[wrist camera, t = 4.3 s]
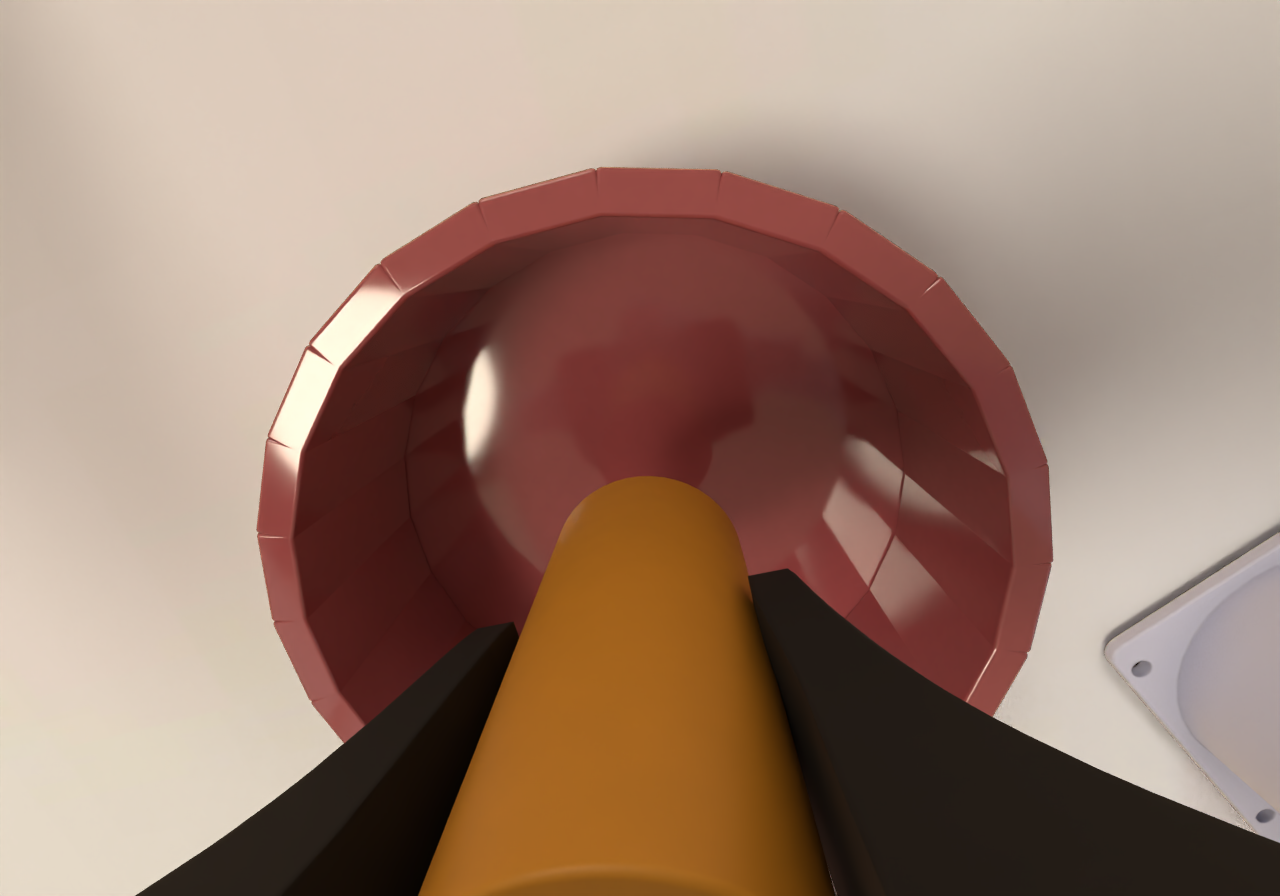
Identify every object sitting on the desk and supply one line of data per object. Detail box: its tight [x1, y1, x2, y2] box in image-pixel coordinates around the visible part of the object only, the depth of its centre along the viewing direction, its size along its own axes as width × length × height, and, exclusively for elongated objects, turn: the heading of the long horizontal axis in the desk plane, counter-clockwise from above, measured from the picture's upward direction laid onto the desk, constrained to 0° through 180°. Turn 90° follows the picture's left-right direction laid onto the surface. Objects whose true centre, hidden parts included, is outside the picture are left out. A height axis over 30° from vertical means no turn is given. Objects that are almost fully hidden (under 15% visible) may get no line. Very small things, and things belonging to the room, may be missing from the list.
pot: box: [257, 167, 1053, 743], centre depth 14 cm, size 14×14×5 cm
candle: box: [418, 476, 835, 896], centre depth 8 cm, size 4×4×8 cm
